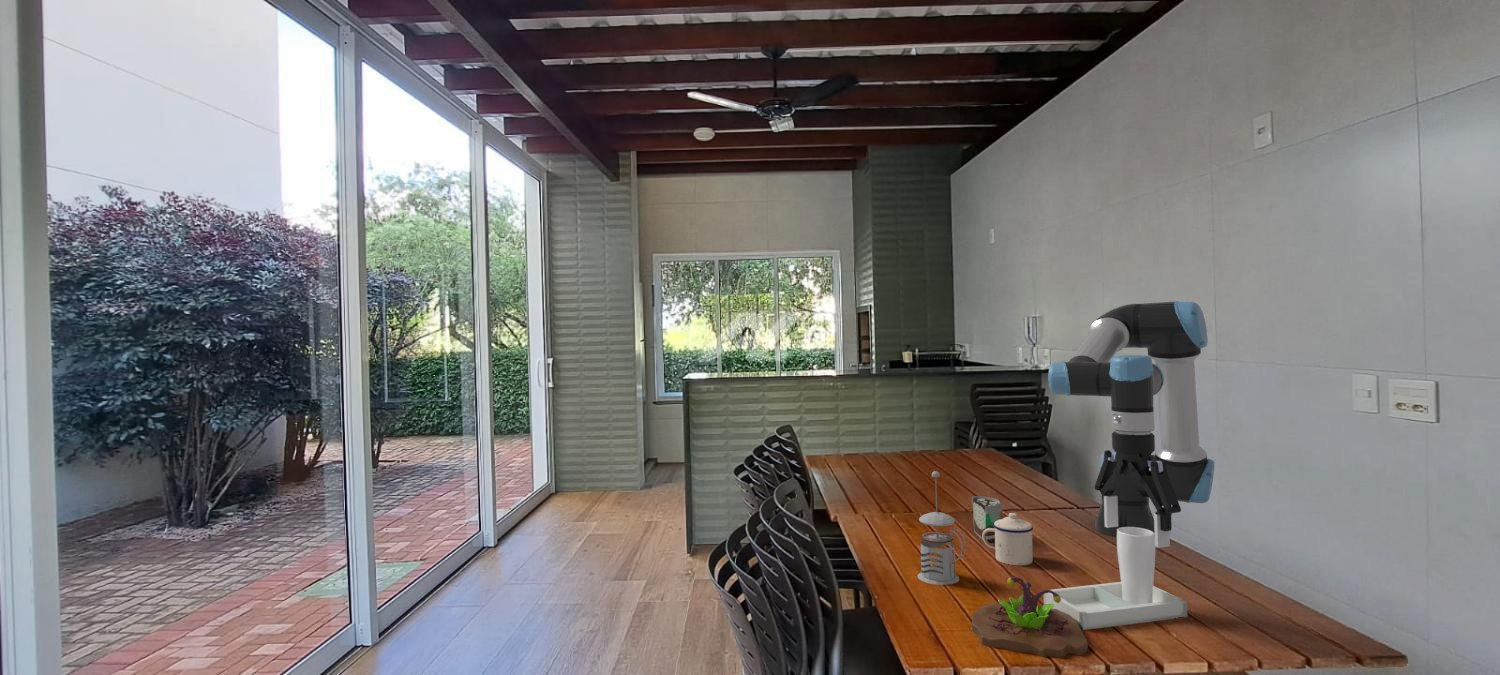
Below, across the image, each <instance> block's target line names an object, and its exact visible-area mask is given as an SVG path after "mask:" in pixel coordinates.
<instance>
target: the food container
mask: <svg viewBox="0 0 1500 675" xmlns="http://www.w3.org/2000/svg"><path fill="white" fill-rule="evenodd" d="M971 504H972V513H973V514H972V515H973V516H972V518H973V532H974V533H975V534H976V535H977V536H978V537H979V538H980V539H981V540H982V541H983V538H982V533H983V531H984V530H985V529H988V528H993V529H995V527H994V523H995V521H997V520H1000V519H1001V518H1000V516H1001V512H1003V507H1002V504H1001V502H1000V500H999V499H997V498H993V497H988V496H981V495H980V496H978V495H977V496H975V495H974V496H971ZM985 536H986V540H987V541H988V543H990V542H995V532H986V534H985Z"/></svg>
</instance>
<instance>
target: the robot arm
mask: <svg viewBox="0 0 1500 675" xmlns="http://www.w3.org/2000/svg"><path fill="white" fill-rule="evenodd" d="M1087 334H1088V335H1087V337H1086V339H1084V341H1083V342H1082V344H1081V345H1080V346H1079V348H1078V349H1077V350H1076V351H1075V353H1074V354H1073V355H1072V356H1071V358H1070V359H1069V361H1060V362H1059V361H1058V362H1057V361H1055V362H1053V363H1052V364H1050V366H1049V368H1048V374H1047V380H1048V387H1049V390H1050V391H1051V392H1052V393H1053V394H1054V395H1063V396H1067V397H1070V396H1077V397H1078V396H1081V397H1082V396H1083V397H1085V396H1087V397H1110V400H1111V401H1110V402H1111V404H1110V406H1111V407H1110V408H1111V410H1110V411H1111V429H1112V430H1113V432H1112V433H1111V446H1112V448H1111V449H1108V450H1105V451H1104V452H1103V453H1102V454H1101V457H1100V466H1099V469H1100V470H1099V472H1098V476H1097V479H1096V481H1095V484H1094V490H1096V491H1098V492H1100V495H1101V502H1100V503H1101V504H1100V507H1099V509H1098V514H1097V517H1096V518H1095V521H1094V523H1095V525H1094V526H1095V530H1096V531H1097V532H1099V533H1100V534H1103V535H1106V536H1110V537H1114V538H1117V529H1118V528H1121V527H1137V528H1143V529H1147V530H1150V531H1152V532H1154V534H1155V548H1158V549H1159V548H1166V547H1171V535H1170V532H1171V531H1172V529H1173V528H1172V514H1177V513H1181V511H1182V509H1181V508H1182V507H1181V505H1180V503H1179V502H1184V503H1187V504H1190V503H1194V504H1205V503H1207V502H1208V501H1209V500H1210V497H1211V493H1212V487H1213V482H1214V474H1215V460H1213V459H1211V458H1208V453H1207V451H1206V450H1205V449H1203V448H1202V447H1201V446H1200V435H1199V420H1198V419H1199V418H1198V402H1197V401H1198V400H1197V387H1196V369H1195V359H1196V358H1198V357H1199V356H1200V355H1201V353H1202V351H1201V350H1202V349H1203V348H1206V347H1207V346H1208V340H1209V339H1208V330H1207V324H1206V320H1205V316H1204V313H1203V310H1202V308H1201V305H1200V304H1198V303H1196V302H1193V301H1168V302H1167V301H1163V302H1150V303H1146V302H1145V303H1130V304H1125V305H1124V304H1123V305H1121V306H1118V307H1115V308H1113V309H1111V310H1109V311H1107V312H1105V313H1104V314H1102V315H1100V316H1099V317H1098V318H1096V319H1095V320H1094V321H1093V323H1092V324H1091V325H1090V327H1089V329H1088V332H1087ZM1127 348H1128V349H1129V348H1130V349H1131V348H1132V349H1133V348H1134V349H1135V348H1137V349H1138V348H1140V349H1141V348H1142V349H1147V355H1141V354H1140V355H1139V354H1136V355H1135V354H1133V355H1132V354H1131V355H1130V354H1128V355H1127V354H1125V355H1116V354H1117V352H1119V351H1122V350H1123V349H1127ZM1153 361H1154V363H1153ZM1156 394H1157V405H1158V420H1159V434H1160V436H1159V438H1160V446H1158V447H1157V448H1156V442H1155V441H1156V437H1155V434H1154V433H1153V432H1154V431H1155V429H1156V428H1155V411H1154V410H1155V409H1154V396H1156ZM1153 453H1154V454H1153ZM1150 501H1151V503H1152V505H1153V506H1154V509H1155V510H1156V512H1154V513H1152V511H1151V508H1150Z"/></svg>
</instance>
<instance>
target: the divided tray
mask: <svg viewBox="0 0 1500 675" xmlns="http://www.w3.org/2000/svg"><path fill="white" fill-rule="evenodd" d="M1050 590H1051V591H1053V592H1055V593H1057V594H1058V595H1059V596H1060V598H1061V601H1060V602H1059V603H1057V602H1055V601H1054V598H1053V594H1052V593H1045V594H1043V595H1042V596H1043V605H1046V604H1054V607H1053V608H1052V609H1058V610H1059V611H1061V612H1064V613H1066V614H1068V615H1070V616H1071V617H1072V618H1074V619H1076V620H1077V621H1078V623H1079V627H1080V629H1081V631H1086V630H1087V631H1088V630H1093V629H1094V630H1095V629H1102V628H1103V629H1104V628H1112V627H1117V626H1120V627H1121V626H1126V625H1127V626H1128V625H1134V624H1136V625H1137V624H1142V623H1153V622H1157V621H1160V622H1161V621H1167V620H1174V618H1176V619H1179V618H1178V617H1184V618H1188V600H1185V599H1183V598H1181V597H1179V596H1177V595H1174V594H1172V593H1170V592H1168V591H1165V590H1163V589H1161V588H1159V587H1156V586H1155V585H1153V603H1148V604H1140V605H1133V604H1131V603H1129V602H1127V601H1125V600H1123V599H1122V587H1121V581H1115V582H1108V583H1100V584H1099V583H1098V584H1090V585H1081V586H1072V587H1063V588H1062V587H1061V588H1054V589H1050Z"/></svg>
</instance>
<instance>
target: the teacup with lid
mask: <svg viewBox="0 0 1500 675" xmlns="http://www.w3.org/2000/svg"><path fill="white" fill-rule="evenodd" d="M994 527H995V529H993V528H988V529H985V530H984V531H983V533H982V538H983V540H982V541H983V542H984V544H985V545H986V547H988V548H990V549H994V550H995V559H996V561H998V562H999V563H1001V562H1002V564H1004V563H1005V565H1008V564H1009V566H1017V567H1018V566H1028V565H1031V564H1032V563H1033V560H1034V559H1033V530H1034V528H1033V525H1032V524H1031V523H1030V522H1028V521H1026V520H1023V519H1022V518H1020V517H1018V514H1017V513H1015V512H1009V513H1008V516H1006V517H1003V518H1000V519H999V520H997V521H995V523H994ZM986 532H995V541H994V544H991V543H990V542H988V541H987V540H986V536H985V534H986Z"/></svg>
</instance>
